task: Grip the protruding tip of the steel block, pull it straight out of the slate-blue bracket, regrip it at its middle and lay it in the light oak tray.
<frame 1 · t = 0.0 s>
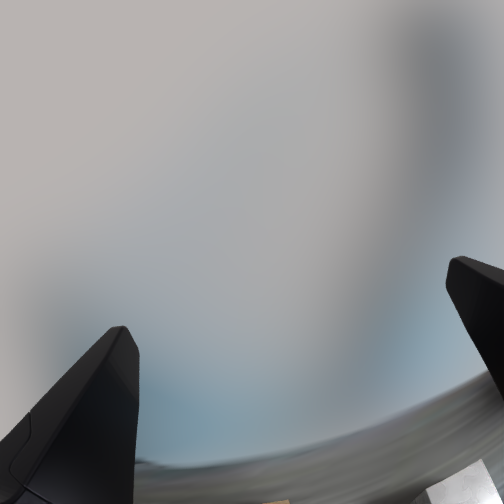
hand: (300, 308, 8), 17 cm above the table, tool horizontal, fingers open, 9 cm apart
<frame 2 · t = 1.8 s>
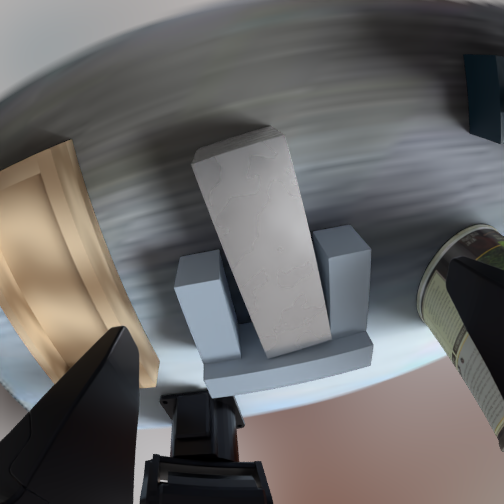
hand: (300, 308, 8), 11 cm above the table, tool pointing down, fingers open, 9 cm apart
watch: (486, 94, 15), on the table
steel block: (264, 233, 19), on the table
bracket: (272, 281, 20), on the table
oak tray: (61, 280, 19), on the table
coffee can: (461, 278, 22), on the table
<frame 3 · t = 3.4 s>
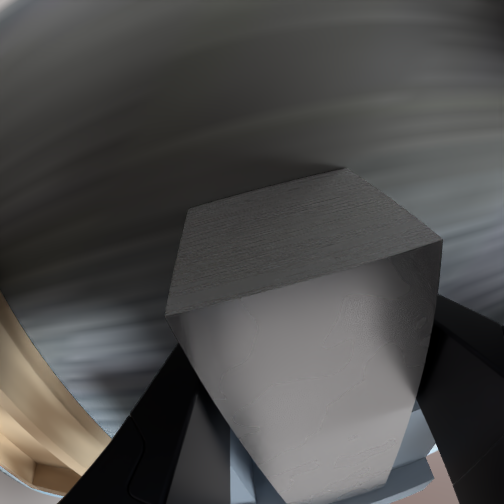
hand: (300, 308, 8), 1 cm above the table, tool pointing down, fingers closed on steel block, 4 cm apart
steel block: (306, 354, 10), on the table, touching gripper
bracket: (304, 406, 12), on the table
oak tray: (2, 386, 10), on the table
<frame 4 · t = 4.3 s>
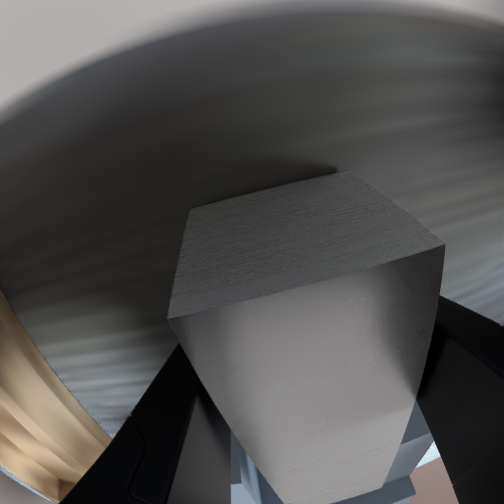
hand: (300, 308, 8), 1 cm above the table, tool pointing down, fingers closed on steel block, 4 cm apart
steel block: (305, 356, 10), on the table, touching gripper
bracket: (304, 435, 13), on the table
oak tray: (34, 421, 12), on the table
when the fingers open (1 cm above the table, at t = 5.5 s): steel block stays where it is, on the table.
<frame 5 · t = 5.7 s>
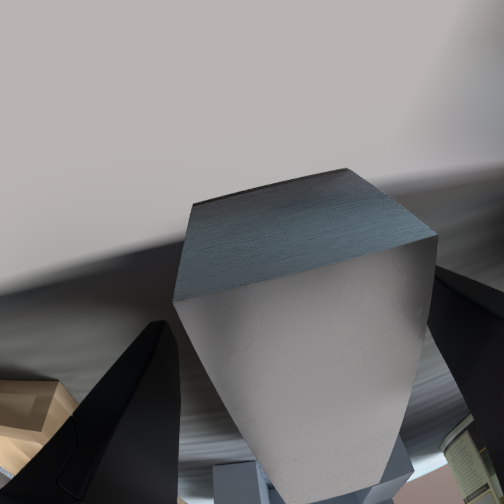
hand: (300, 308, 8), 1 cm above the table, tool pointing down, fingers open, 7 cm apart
steel block: (303, 350, 11), on the table
bracket: (308, 469, 16), on the table
oak tray: (81, 463, 14), on the table
coffee can: (487, 414, 18), on the table
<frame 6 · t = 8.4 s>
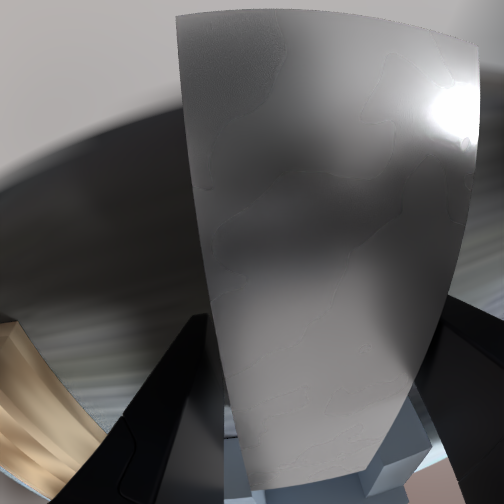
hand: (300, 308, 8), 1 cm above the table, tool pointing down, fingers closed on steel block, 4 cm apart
steel block: (293, 275, 9), on the table, touching gripper
bracket: (307, 449, 14), on the table
oak tray: (52, 439, 13), on the table
when the fingers open (3 cm above the table, at t = 12.5 s): steel block drops 1 cm, resting on oak tray.
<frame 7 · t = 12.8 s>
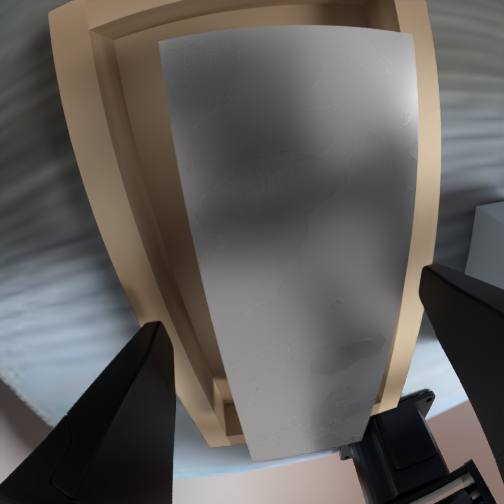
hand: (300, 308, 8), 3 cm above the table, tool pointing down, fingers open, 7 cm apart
steel block: (282, 253, 10), point 1 cm above the table, touching oak tray
oak tray: (277, 243, 11), on the table
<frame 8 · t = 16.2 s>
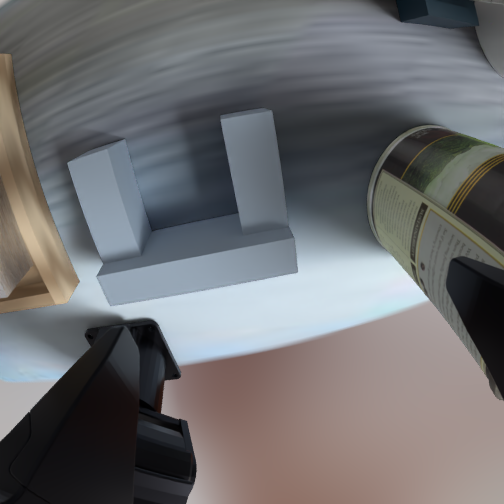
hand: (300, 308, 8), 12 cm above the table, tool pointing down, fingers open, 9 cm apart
bracket: (182, 175, 18), on the table
coffee can: (425, 194, 20), on the table
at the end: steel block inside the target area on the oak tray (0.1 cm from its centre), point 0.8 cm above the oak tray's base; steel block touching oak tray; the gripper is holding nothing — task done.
